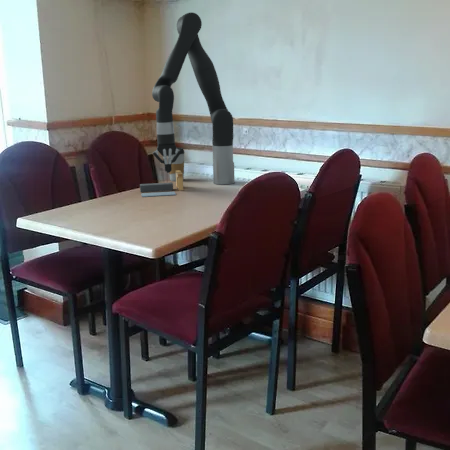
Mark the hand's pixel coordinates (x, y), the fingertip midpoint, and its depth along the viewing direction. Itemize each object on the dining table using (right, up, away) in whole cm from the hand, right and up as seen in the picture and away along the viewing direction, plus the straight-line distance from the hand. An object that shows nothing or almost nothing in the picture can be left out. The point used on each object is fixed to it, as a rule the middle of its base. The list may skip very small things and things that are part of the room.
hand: (168, 172), depth 252 cm
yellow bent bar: (+5, -7, 0) cm, 8 cm away
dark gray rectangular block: (-5, -9, -3) cm, 10 cm away
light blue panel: (-3, -11, -12) cm, 16 cm away
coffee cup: (+2, -2, +21) cm, 21 cm away
